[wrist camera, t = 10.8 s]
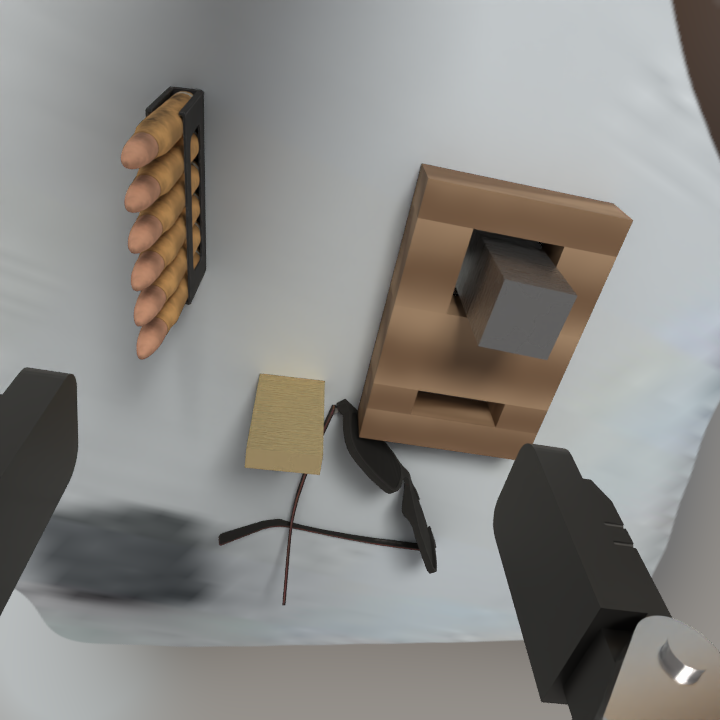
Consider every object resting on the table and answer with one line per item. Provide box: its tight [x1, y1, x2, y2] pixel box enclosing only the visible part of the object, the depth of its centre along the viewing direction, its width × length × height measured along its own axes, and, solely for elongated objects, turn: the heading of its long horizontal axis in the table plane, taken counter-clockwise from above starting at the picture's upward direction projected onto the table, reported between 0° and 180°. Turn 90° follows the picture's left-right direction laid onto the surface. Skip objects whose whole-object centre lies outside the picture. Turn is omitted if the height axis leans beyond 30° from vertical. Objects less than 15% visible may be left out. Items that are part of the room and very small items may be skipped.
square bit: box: [455, 229, 577, 360], centre depth 37 cm, size 4×4×8 cm
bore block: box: [358, 164, 633, 460], centre depth 41 cm, size 18×12×3 cm, turn 168°
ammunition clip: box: [121, 87, 206, 359], centre depth 32 cm, size 11×2×12 cm, turn 174°
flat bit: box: [245, 374, 325, 475], centre depth 41 cm, size 2×4×8 cm, turn 81°
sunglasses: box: [219, 399, 437, 605], centre depth 49 cm, size 17×14×5 cm
